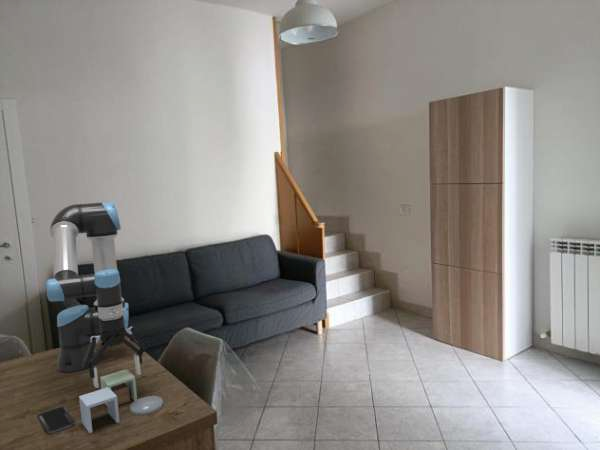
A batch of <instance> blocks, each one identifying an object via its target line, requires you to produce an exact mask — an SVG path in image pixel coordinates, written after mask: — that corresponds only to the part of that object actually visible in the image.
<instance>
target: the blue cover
mask: <svg viewBox="0 0 600 450" xmlns="http://www.w3.org/2000/svg"><path fill="white" fill-rule="evenodd" d="M78 397H79V409H80V417H81V423H82V425H83V426H84V428H86V430H87V432H88V433H89V434H91V433H93V424H92V414H91V408H94V407H97V406H99V405H102V404H105V403H106V402H107V405H106V408H107V412H108V415H110V417H111V418H112V419H113V420H114V422H115V423H116V424H119V423H120V422H121V420H120V414H119V405H118V401H117V396H116V395H115V394H114V393H113V392H112V391H111V390H110V388H109V387H107V388H104V389H101V388H100V389H98V390H94V391H92V392H88V393H85V394H81V395H80V396H78Z"/></svg>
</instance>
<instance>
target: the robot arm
mask: <svg viewBox="0 0 600 450" xmlns="http://www.w3.org/2000/svg"><path fill="white" fill-rule="evenodd" d="M121 229H122V227H121V223H120V217H119V215H118V211H117V206H116V205H115V204H114V203H113V202H111V201H109V202H104V201H102V202H93V203H79V204H78V203H75V204H70V205H68V206H65V207H64V208H62V209H61V210H60V211H59V212H58V213H57V214H56V215H55V216H54V218H53V219H52V221H51V224H50V230H49V231H50V236H51V237H52V239H53V277H52V278H50V279H47V280H46V283H45V287H46V288H45V289H46V297H47V299H48V301H49V302H64V301H69V300H75V299H81V298H89V297H90V298H91V297H96V300H95V301H94V302H93V307H89V306H88V305H87V304H78V305H76V306H75V305H74V306H71V307H68V308H66V309H63V310H61V311H60V312H59V313H58V314H57V316H56V324H57V325H56V326H57V332H58V340H59V348H60V349H59V353H58V357H57V360H56V361H57V362H56V366H57V370H58V371H59V372H63V373H73V372H79V371H84V370H86V369H88V375H89V377H90V379H92V381H93V386H94V387H95V389H99V387H100V385H99V376H98V370H97V368H98V367H96V365H97V364H98V362H99V360H100V359H101V357H102V355H103V354H104V352H105V351H106V350H107V349H108V347H110V348H111V347H114V346H119V345H121V344H122V343H123V344H124V345H125V346H126V347H128V348H129V349H131V350H132V351H134V352H135V353H134V354H133V358H134V359H133V360H134V369H135V370H134V371H135V373H136V375H138V376H141V375H142V374H141V365H142V364H143V357H142V356H143V355H144V353H145V352H147V351H148V349H147V347H146V346H145V344H144V343H143V342H142V340H141V338H140V337H139V336H138V334H137V332H136V328H135V327H134V326H130V325H129V318H130V317H129V315H130V314H129V313H130V312H129V302H125V298H123V297H122V286H121V277H120V272H119V270H118V264H117V255H116V246H115V238H116V237H117V236H118V231H120V230H121ZM79 234H85V235H86V238H87V239H88V240H89V241H90V242H91V250H92V261H93V272H94V273H90V274H80V275H79V269H78V265H79V264H78V252H77V251H78V249H77V237H78V235H79ZM128 326H129V327H128ZM127 334H128V335H130V336H131V337H132V339H133V340H134V341H135V343H136V344H137V346H138V347H139V349H138V348H137V347H136V346H135V345H134V344H132V343H131V342H130V341H128V339H126V338H125V337H126V335H127ZM99 340H100V341H101V343H100V344H99V347H98V348H97V349H96V345H97V343H98V342H99Z"/></svg>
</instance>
